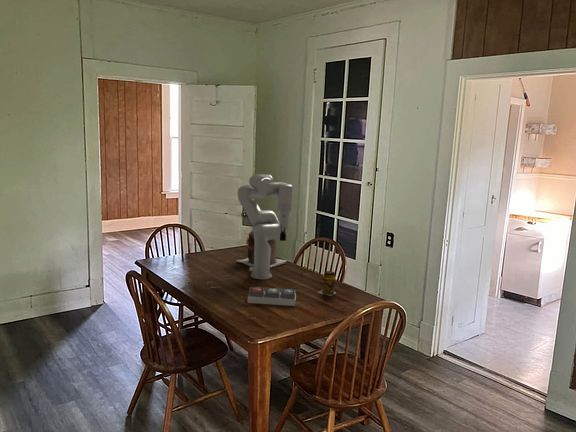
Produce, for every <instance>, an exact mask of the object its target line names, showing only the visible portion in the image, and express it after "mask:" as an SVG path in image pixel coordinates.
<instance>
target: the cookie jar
mask: <svg viewBox="0 0 576 432" xmlns="http://www.w3.org/2000/svg"><path fill="white" fill-rule="evenodd" d="M276 240H277V239H275V240H267V242H268V243H269V245H270V247H271V254H270V269H272V268H274V267H277V266H280V265H285V264H286V263H287V261H288V260H287V259H285V260H284V259H279V258H277V252H278V251H277V250H278V248H277V241H276ZM254 251H255V240H254V228H253V229H251V230H250V231H249V233H248V239H247V258H245V259H237V260H236V263H241V264H244V265H246V266H249V267H253V268H254Z"/></svg>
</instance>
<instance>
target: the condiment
mask: <svg viewBox="0 0 576 432" xmlns="http://www.w3.org/2000/svg"><path fill="white" fill-rule="evenodd" d="M335 285H336V277H335V271H333V270H326V271H325V272H324V276H323V285H322V287H323V288H322V289H321V290H319V291H318V292H317V294H320V295H325V296H329V297H332V296H334V295H336V293H337V292H336V291H335Z"/></svg>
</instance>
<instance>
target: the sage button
mask: <svg viewBox="0 0 576 432" xmlns="http://www.w3.org/2000/svg"><path fill="white" fill-rule="evenodd" d="M277 289H278V288H276V289H268V290H267V292H270V293H278V290H277Z"/></svg>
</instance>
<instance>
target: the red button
mask: <svg viewBox="0 0 576 432" xmlns="http://www.w3.org/2000/svg"><path fill="white" fill-rule="evenodd" d="M261 288H262V287H260V288H252V291H254V292H262V289H261Z"/></svg>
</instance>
